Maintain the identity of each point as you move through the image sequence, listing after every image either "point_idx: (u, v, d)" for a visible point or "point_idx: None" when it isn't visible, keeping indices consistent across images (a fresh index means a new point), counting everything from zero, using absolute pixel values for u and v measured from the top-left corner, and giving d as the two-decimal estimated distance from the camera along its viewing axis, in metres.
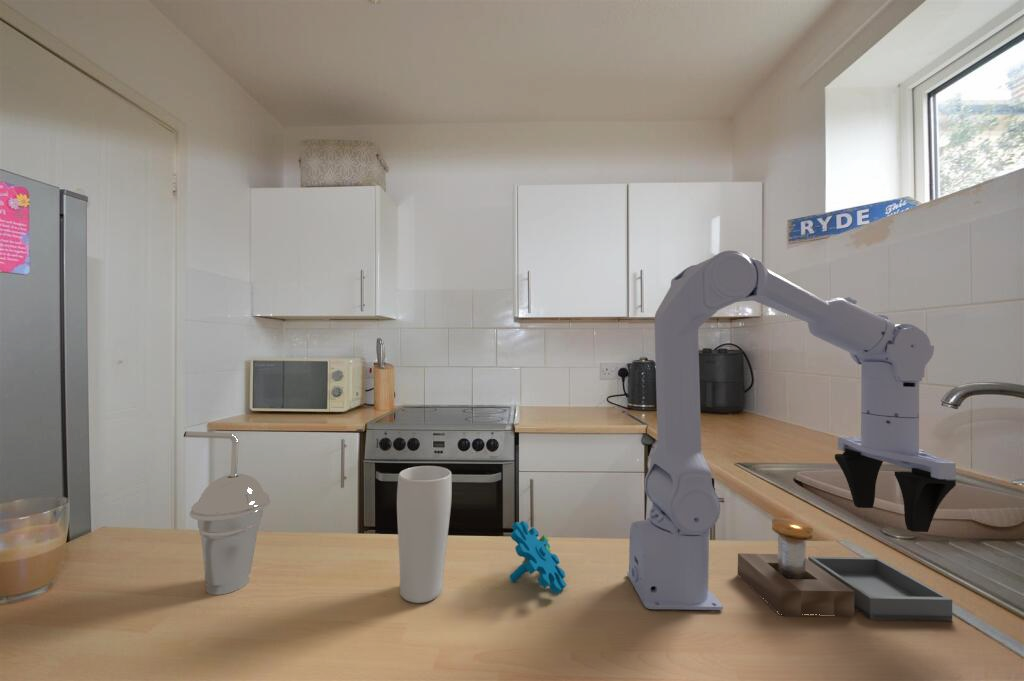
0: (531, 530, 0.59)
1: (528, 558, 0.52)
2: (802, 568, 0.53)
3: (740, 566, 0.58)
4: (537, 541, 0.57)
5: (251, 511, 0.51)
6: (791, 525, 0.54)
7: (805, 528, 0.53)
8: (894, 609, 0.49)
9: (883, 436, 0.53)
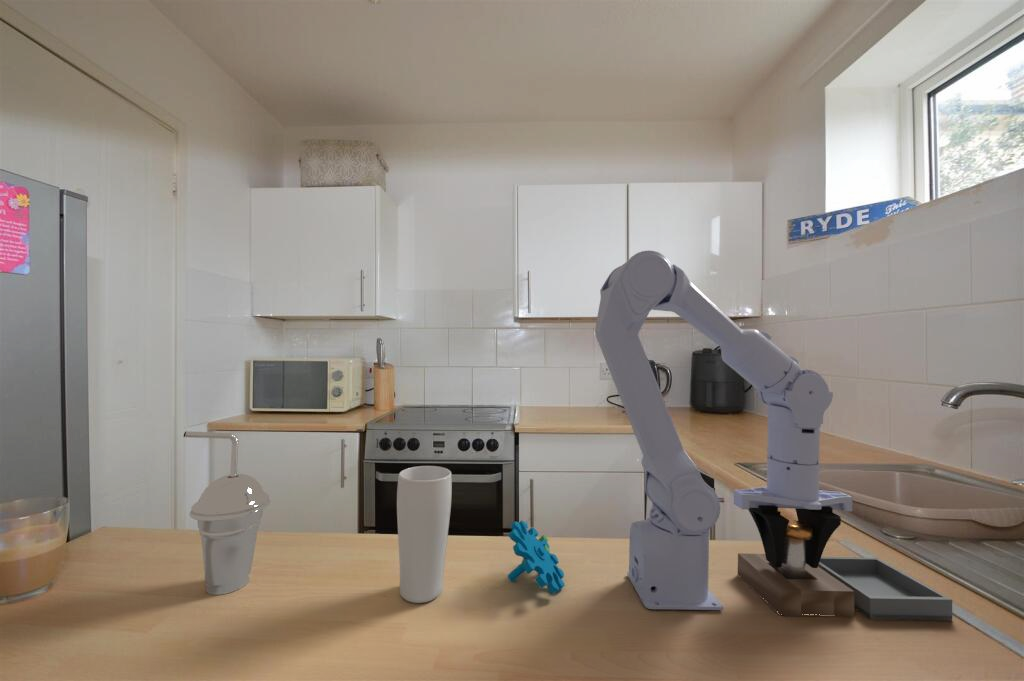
0: (530, 530, 0.59)
1: (526, 558, 0.52)
2: (802, 568, 0.53)
3: (740, 566, 0.58)
4: (536, 541, 0.57)
5: (251, 511, 0.51)
6: (791, 525, 0.54)
7: (805, 528, 0.53)
8: (894, 609, 0.49)
9: None
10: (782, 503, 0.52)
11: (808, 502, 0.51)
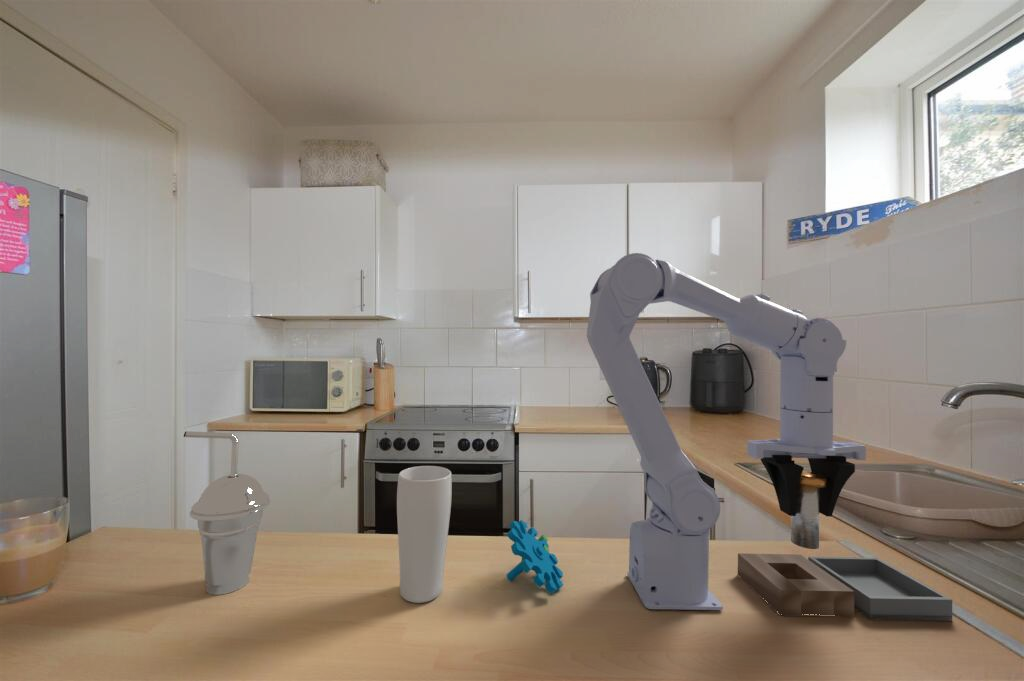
0: (530, 529, 0.59)
1: (524, 557, 0.53)
2: (816, 516, 0.53)
3: (740, 566, 0.58)
4: (535, 540, 0.57)
5: (251, 511, 0.51)
6: (805, 475, 0.54)
7: (819, 477, 0.53)
8: (894, 609, 0.49)
9: None
10: (796, 451, 0.52)
11: (822, 449, 0.51)
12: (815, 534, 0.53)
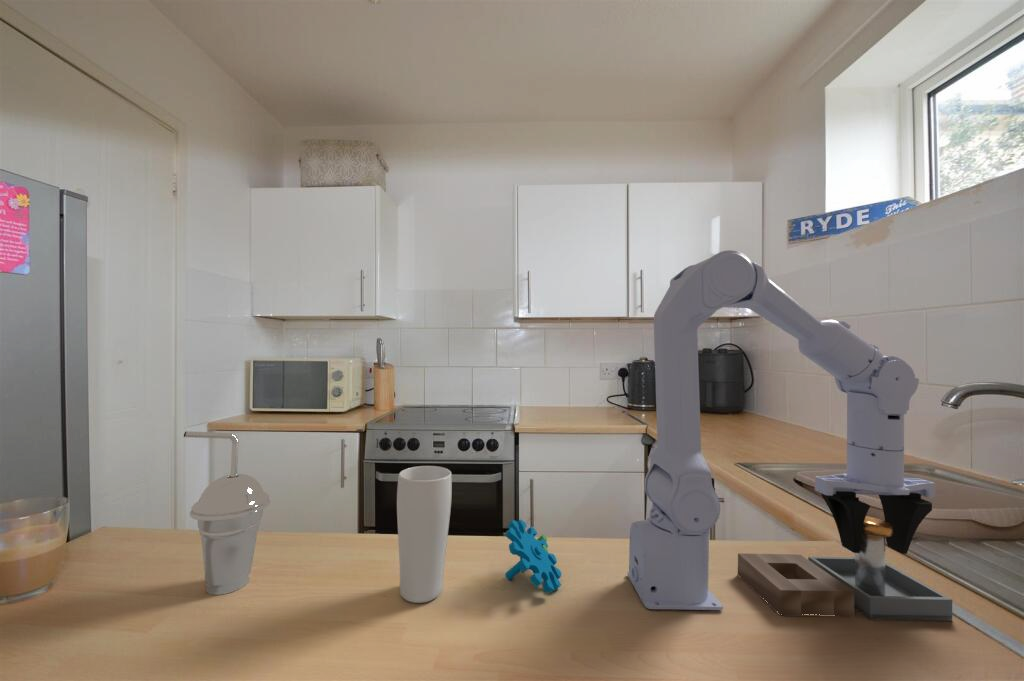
0: (529, 529, 0.59)
1: (522, 556, 0.53)
2: (882, 565, 0.53)
3: (740, 566, 0.58)
4: (534, 540, 0.57)
5: (251, 511, 0.51)
6: (870, 522, 0.54)
7: (885, 524, 0.53)
8: (894, 609, 0.49)
9: None
10: (868, 489, 0.52)
11: (895, 488, 0.51)
12: (881, 582, 0.53)
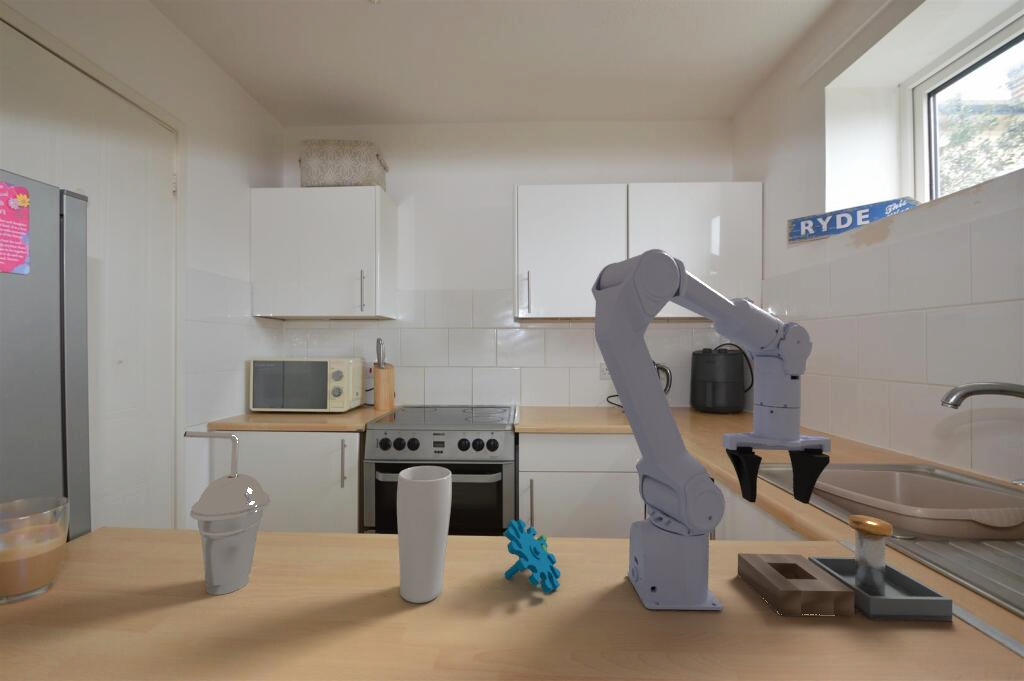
0: (529, 529, 0.59)
1: (520, 556, 0.53)
2: (882, 565, 0.53)
3: (740, 566, 0.58)
4: (533, 540, 0.57)
5: (251, 511, 0.51)
6: (870, 522, 0.54)
7: (885, 524, 0.53)
8: (894, 609, 0.49)
9: None
10: (766, 443, 0.57)
11: (789, 441, 0.56)
12: (881, 582, 0.53)
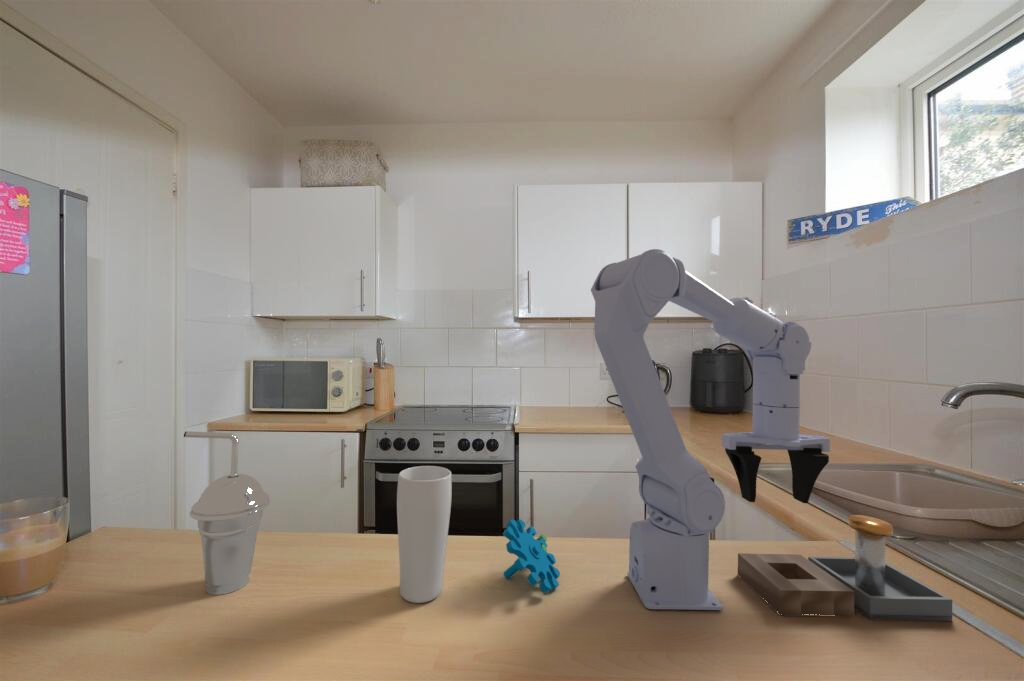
0: (528, 529, 0.59)
1: (519, 555, 0.53)
2: (882, 565, 0.53)
3: (740, 566, 0.58)
4: (532, 540, 0.57)
5: (251, 511, 0.51)
6: (870, 522, 0.54)
7: (885, 524, 0.53)
8: (894, 609, 0.49)
9: None
10: (765, 443, 0.57)
11: (789, 440, 0.56)
12: (881, 582, 0.53)
